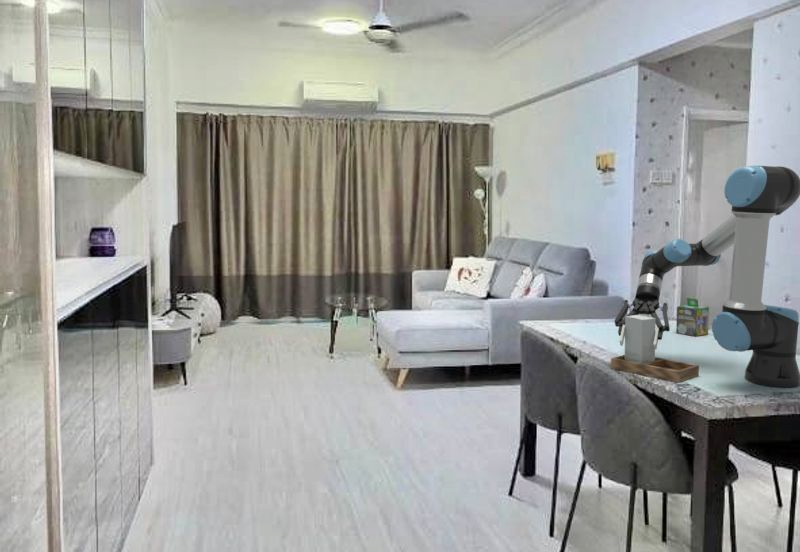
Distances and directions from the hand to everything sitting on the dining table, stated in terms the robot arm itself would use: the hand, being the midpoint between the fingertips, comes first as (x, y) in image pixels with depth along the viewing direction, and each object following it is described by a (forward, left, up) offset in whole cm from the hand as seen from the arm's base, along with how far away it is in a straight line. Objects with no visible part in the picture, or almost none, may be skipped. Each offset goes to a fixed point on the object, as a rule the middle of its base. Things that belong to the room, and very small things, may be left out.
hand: (637, 345), depth 226 cm
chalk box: (+19, -75, -9) cm, 78 cm away
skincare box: (+1, -3, -6) cm, 7 cm away
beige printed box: (+27, -51, -9) cm, 58 cm away
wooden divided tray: (-4, -3, -8) cm, 10 cm away
